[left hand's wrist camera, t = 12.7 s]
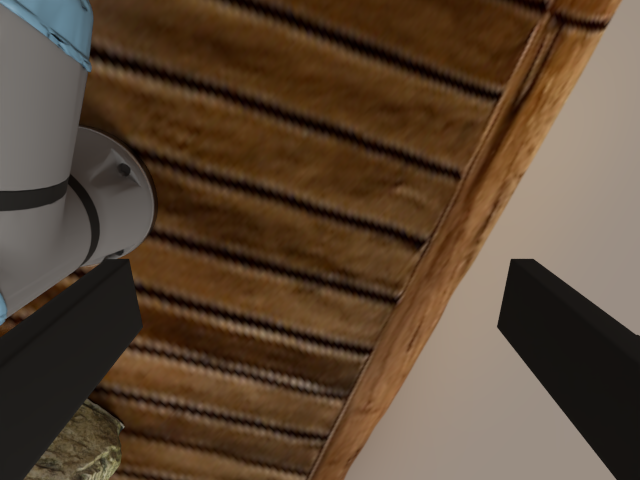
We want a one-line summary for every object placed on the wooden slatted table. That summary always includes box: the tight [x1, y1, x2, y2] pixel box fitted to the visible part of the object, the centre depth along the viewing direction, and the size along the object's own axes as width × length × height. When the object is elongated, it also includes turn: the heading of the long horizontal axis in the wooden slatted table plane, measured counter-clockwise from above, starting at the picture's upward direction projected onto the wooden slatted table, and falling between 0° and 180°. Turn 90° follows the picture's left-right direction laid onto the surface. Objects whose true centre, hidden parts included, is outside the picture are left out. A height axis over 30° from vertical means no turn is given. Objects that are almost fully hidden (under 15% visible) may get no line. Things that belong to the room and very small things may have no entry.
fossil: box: [23, 399, 124, 480], centre depth 46 cm, size 9×18×15 cm, turn 66°
